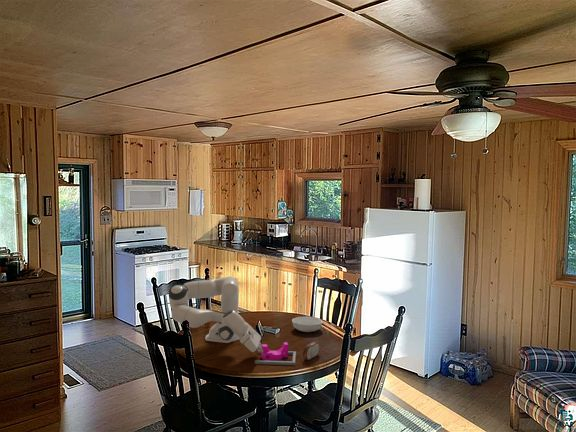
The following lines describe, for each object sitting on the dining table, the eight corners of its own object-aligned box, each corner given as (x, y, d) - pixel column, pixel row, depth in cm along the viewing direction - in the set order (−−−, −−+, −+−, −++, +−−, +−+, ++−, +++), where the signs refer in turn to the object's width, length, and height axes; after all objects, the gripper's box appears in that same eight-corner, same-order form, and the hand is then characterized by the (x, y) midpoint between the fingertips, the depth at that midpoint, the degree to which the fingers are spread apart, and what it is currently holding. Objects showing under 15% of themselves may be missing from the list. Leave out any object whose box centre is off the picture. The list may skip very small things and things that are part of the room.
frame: (254, 363, 240) (254, 361, 240) (258, 352, 257) (258, 350, 257) (294, 365, 239) (294, 362, 239) (296, 353, 256) (296, 351, 256)
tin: (315, 353, 258) (316, 339, 257) (320, 354, 256) (320, 340, 256) (302, 361, 245) (302, 346, 245) (306, 362, 244) (307, 347, 243)
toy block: (264, 361, 244) (264, 348, 244) (261, 357, 250) (261, 344, 250) (289, 358, 249) (289, 345, 248) (286, 354, 255) (286, 342, 254)
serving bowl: (320, 336, 289) (320, 326, 288) (289, 333, 293) (289, 323, 292) (323, 326, 309) (324, 317, 309) (294, 324, 313) (295, 315, 313)
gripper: (245, 331, 259) (261, 347, 259) (239, 342, 238) (257, 361, 238) (252, 324, 258) (269, 340, 258) (247, 335, 238) (265, 353, 238)
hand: (263, 350), depth 248 cm, fingers closed
